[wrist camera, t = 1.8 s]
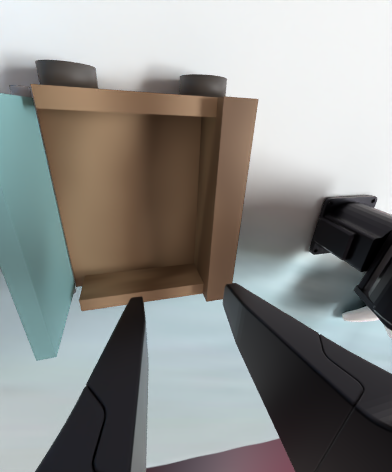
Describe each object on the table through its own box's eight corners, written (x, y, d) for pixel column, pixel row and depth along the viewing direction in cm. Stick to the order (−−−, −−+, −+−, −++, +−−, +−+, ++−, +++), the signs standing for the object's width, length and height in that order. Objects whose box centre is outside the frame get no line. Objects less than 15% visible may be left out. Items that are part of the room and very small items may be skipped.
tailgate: (32, 87, 13) (-37, 70, 8) (77, 287, 20) (58, 362, 14) (12, 86, 13) (-78, 66, 7) (63, 289, 19) (38, 366, 14)
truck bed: (223, 83, 17) (262, 72, 13) (208, 271, 25) (228, 309, 20) (34, 66, 14) (-9, 44, 10) (81, 286, 22) (70, 335, 17)
